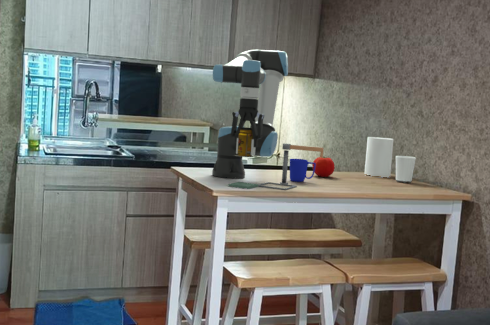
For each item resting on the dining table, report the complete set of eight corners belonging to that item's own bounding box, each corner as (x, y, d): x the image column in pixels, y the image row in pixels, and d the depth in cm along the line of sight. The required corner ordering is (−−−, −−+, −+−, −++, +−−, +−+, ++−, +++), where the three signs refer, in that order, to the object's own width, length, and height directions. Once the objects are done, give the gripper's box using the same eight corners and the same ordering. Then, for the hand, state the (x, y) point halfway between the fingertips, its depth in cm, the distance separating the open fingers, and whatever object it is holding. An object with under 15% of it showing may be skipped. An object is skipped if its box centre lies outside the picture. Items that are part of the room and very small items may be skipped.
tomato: (334, 176, 339) (336, 156, 338) (333, 179, 327) (335, 158, 326) (312, 174, 341) (314, 154, 340) (310, 176, 328) (312, 156, 327)
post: (278, 184, 292) (281, 150, 291) (281, 183, 296) (284, 149, 294) (286, 185, 291) (288, 151, 289) (289, 184, 294) (291, 150, 293)
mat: (228, 186, 275) (228, 183, 275) (238, 184, 285) (238, 181, 284) (248, 188, 272) (248, 186, 272) (257, 186, 281) (258, 184, 281)
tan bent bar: (322, 157, 286) (322, 147, 286) (281, 154, 290) (282, 143, 290) (323, 157, 290) (323, 146, 289) (282, 153, 294) (283, 143, 294)
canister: (370, 176, 347) (374, 138, 345) (360, 173, 360) (363, 136, 358) (394, 177, 350) (398, 139, 348) (383, 174, 363) (386, 137, 361)
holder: (255, 186, 282) (255, 185, 282) (267, 183, 294) (267, 182, 294) (285, 190, 276) (285, 188, 276) (296, 186, 288) (296, 185, 288)
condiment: (232, 155, 276) (234, 126, 275) (247, 155, 282) (249, 127, 281) (245, 157, 271) (247, 128, 270) (259, 157, 277) (261, 128, 276)
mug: (313, 183, 303) (315, 161, 302) (286, 181, 305) (288, 159, 304) (315, 181, 311) (316, 160, 310) (289, 179, 313) (291, 158, 312)
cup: (398, 180, 340) (400, 155, 339) (416, 182, 335) (418, 157, 333) (390, 181, 332) (392, 156, 331) (409, 184, 326) (411, 158, 325)
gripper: (224, 96, 275) (220, 152, 277) (267, 99, 267) (263, 157, 269) (232, 97, 282) (228, 151, 284) (274, 100, 274) (270, 156, 276)
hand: (245, 154), depth 277 cm, fingers closed on condiment, 6 cm apart
